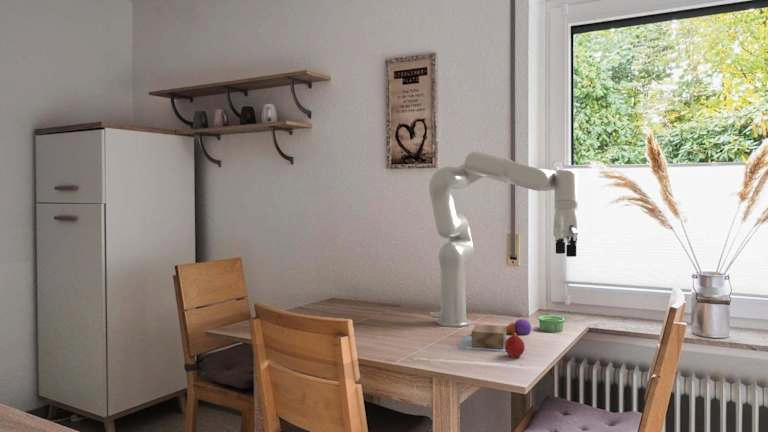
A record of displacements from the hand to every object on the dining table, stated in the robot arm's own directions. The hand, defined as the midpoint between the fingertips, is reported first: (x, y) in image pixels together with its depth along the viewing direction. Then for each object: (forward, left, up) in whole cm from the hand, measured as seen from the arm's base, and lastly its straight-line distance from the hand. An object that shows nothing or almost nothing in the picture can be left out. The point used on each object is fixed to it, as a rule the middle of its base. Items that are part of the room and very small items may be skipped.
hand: (565, 254), depth 200 cm
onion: (-15, -32, -29) cm, 45 cm away
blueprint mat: (-24, -20, -28) cm, 42 cm away
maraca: (-21, -5, -29) cm, 36 cm away
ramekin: (-5, +9, -29) cm, 31 cm away
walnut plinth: (-24, -20, -28) cm, 41 cm away
